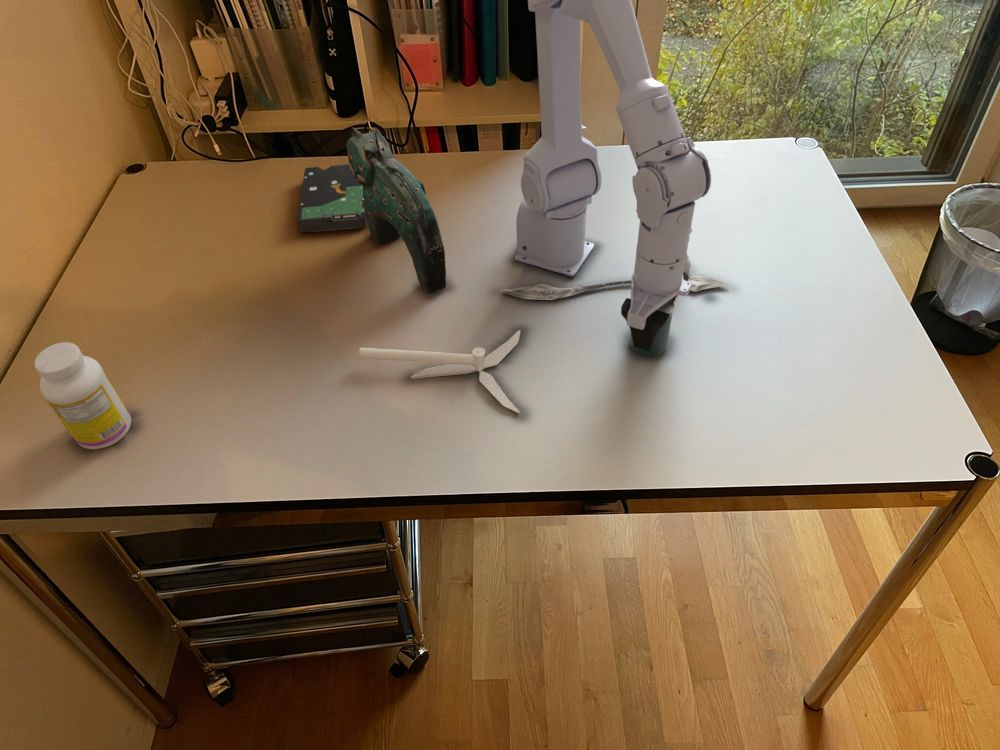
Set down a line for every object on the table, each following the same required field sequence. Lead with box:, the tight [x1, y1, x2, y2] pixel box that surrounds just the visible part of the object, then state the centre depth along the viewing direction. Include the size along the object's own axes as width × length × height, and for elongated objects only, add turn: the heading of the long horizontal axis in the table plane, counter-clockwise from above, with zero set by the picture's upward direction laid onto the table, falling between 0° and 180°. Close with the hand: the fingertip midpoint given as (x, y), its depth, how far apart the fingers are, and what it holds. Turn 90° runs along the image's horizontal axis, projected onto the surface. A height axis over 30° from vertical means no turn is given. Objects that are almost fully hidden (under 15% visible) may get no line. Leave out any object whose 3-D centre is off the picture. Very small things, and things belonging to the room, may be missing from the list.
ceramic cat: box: [345, 127, 447, 295], centre depth 108 cm, size 20×6×20 cm, turn 33°
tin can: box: [629, 299, 675, 358], centre depth 99 cm, size 5×5×7 cm
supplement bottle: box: [34, 341, 132, 450], centre depth 90 cm, size 7×7×13 cm
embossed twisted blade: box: [498, 274, 730, 301], centre depth 108 cm, size 32×1×5 cm
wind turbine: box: [358, 330, 522, 414], centre depth 99 cm, size 4×14×21 cm
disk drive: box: [297, 164, 368, 233], centre depth 125 cm, size 10×3×15 cm
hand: (649, 333), depth 100 cm, fingers closed on tin can, 5 cm apart
